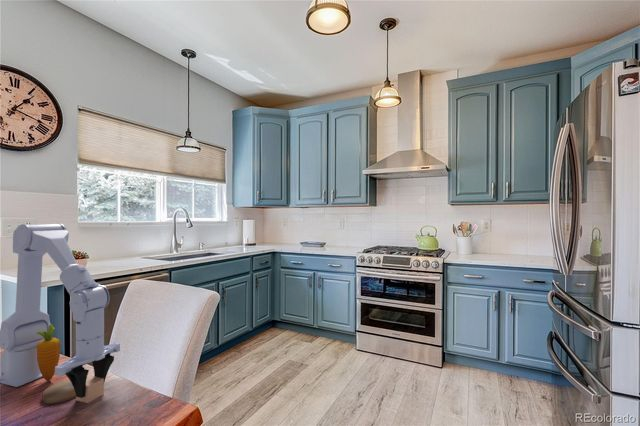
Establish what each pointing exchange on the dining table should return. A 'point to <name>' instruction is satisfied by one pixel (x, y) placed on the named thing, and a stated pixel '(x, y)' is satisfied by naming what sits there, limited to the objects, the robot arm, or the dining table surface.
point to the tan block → (93, 389)
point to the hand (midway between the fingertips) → (90, 391)
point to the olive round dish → (59, 392)
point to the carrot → (48, 353)
